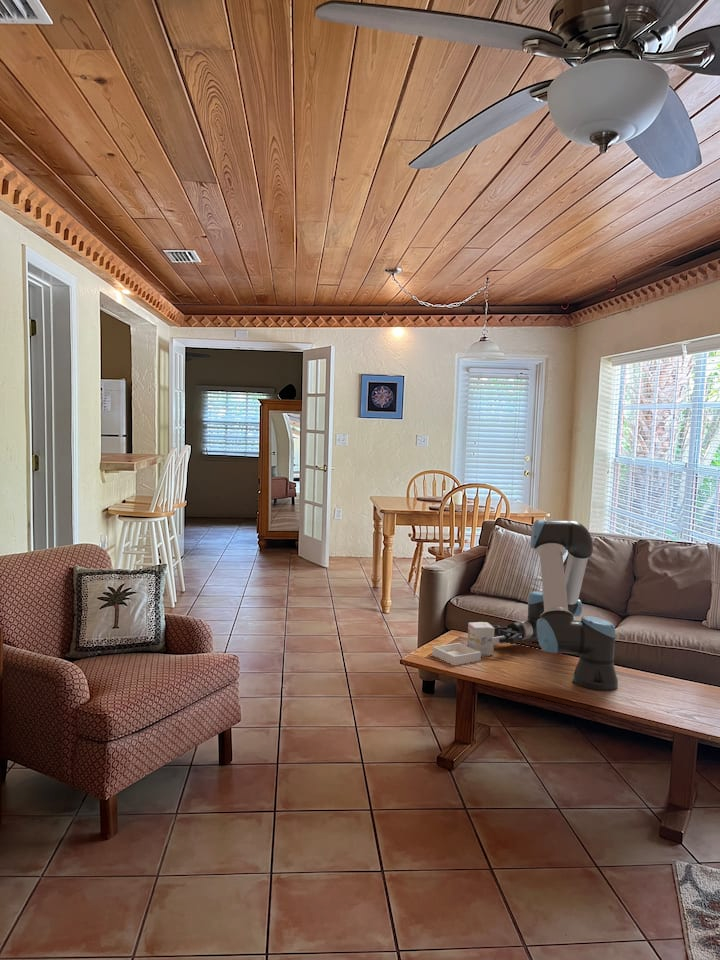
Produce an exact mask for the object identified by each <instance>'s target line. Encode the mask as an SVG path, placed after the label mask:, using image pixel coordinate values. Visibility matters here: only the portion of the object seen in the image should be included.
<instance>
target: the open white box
mask: <svg viewBox="0 0 720 960" xmlns="http://www.w3.org/2000/svg"><path fill="white" fill-rule="evenodd" d="M432 656H433V657H434V658H437V657H438V658H437V659H439V658H440V659H439V660H441V661H443V660H444V662H445V661H446V662H445V663H448V664H449V663H450V665H452V666H453V665H455V666H459V664H461V665H465V663H466V664H471V663H470V662H472V663H476V662H475V661H477V662H481V660H482V656H481V652H480V651H477V650H475V649H473V648H470V647H468V646H467V644H466V645H465V644H463V643H461V642H456V643H455V642H454V643H449V644H443V645H442V644H441V645H436V646H432Z"/></svg>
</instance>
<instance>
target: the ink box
mask: <svg viewBox="0 0 720 960" xmlns="http://www.w3.org/2000/svg"><path fill="white" fill-rule="evenodd" d="M493 626H494V625H492V624H490V623H489V622H487V621H486V622H485V621H477V622H476V621H475V622H474V621H473V622H468V623H467V643H466V646H468V647H470V648H473V649H475V650H477V651H480V652H481V657H487V656H488V657H489V656H490V655H492V656H491V657H493V656H494V651H495V649H494V646H495V644H494V645H492V637H495V634H494V629H495V628H494V627H493Z"/></svg>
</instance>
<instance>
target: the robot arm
mask: <svg viewBox="0 0 720 960" xmlns="http://www.w3.org/2000/svg"><path fill="white" fill-rule="evenodd" d="M530 548H531V549H534V552H535V554H536V555H537V556H538V557H539V560H540V562H539V563H540V575H541V585H542V586H541V587H542V591H538V590H537V591H535V590H533V591H530V593H529V594H528V600H527V601H528V602H527V618H526V619H527V620H522V621H520V620H519V621H515V622H510V623H509V624H508V625H507V626H502V625H501V624H500V625H498V624H497V625H492V626H493V627H494V628H495V629H494V635H496V636H494V637H492V645H494V646H495V645H499V644H504V643H506V644H508V643H509V644H511V645H514V644H516V643H517V642H518V641H520V640H521V641H525V640H526V639H533V638H534V639H535V638H537V642H538V644H539V647H540V648H541V650H543V651H544V652H547V653H549V652H550V653H554V654H557V653H558V654H559V653H560V654H561V653H562V654H578V655H579V657H578V658H579V659H578V662H577V665H576V667H575V670H574V671H573V677H572V681H573V682H574V683H575V684H576V685H579V687H580V686H581V687H582V688H586V689H591V690H595V691H612V690H613V691H614V690H615V689H617V688H618V685H619V679H618V677H617V672H616V668H615V664H614V662H615V661H614V660H615V646H616V645H615V644H616V637H617V636H616V626H615V624H613V622H611V621H609V620H607V619H604V618H600V617H597V616H596V617H595V616H591V615H590V616H589V615H583V616H582V617H581V619H580V620H574V619H575V618H574V617H580V616H581V615H582V611H583V603H582V600H581V599H579V597H580V594H581V589H582V585H583V581H584V577H585V573H586V570H587V569H586V568H587V565H588V561H589V559H590V557H591V556H592V554H593V551H594V541H593V538H592V535H591V533H590V531H589V530H588V528H587V527H585V526H584V524H582V523H580V522H578V521H575V520H564V519H562V520H561V519H560V520H559V519H557V520H556V519H547V518H545V519H536V520H535V521H534V522H533V524H532V529H531V533H530ZM566 553H568V557H567V561H566V566H565V565H564V555H565V554H566ZM564 566H565V568H564Z"/></svg>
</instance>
